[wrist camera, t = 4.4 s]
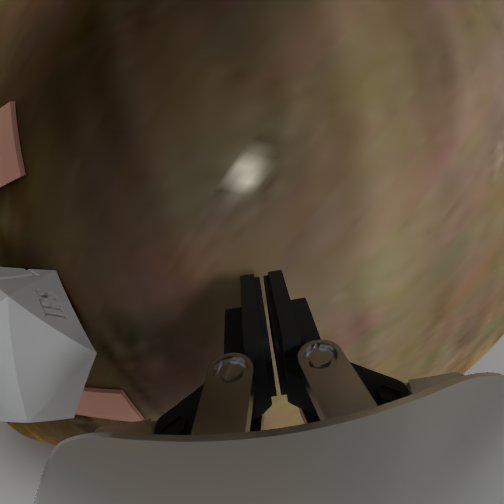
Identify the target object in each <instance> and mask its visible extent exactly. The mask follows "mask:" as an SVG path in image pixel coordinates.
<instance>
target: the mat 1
mask: <svg viewBox="0 0 504 504" xmlns="http://www.w3.org/2000/svg"><path fill="white" fill-rule="evenodd" d="M24 175H26V173H25V169H24V164H23V159H22V153H21V148H20V141H19V135H18V127H17V119H16V108H15V101H10V102H8V103H7V104H6V105H4V106H3V107H1V108H0V187H2V186H4V185H6V184H8V183H10V182H12V181H14V180H16V179H18V178H20V177H22V176H24Z"/></svg>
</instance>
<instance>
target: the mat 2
mask: <svg viewBox="0 0 504 504" xmlns="http://www.w3.org/2000/svg"><path fill="white" fill-rule="evenodd" d="M75 414H77V415H83V416H89V417H95V418H102V419H110V420H119V421H130V422H136V421H142V420H144V418H143V416H142V415H141V414H140V412H139V411H138V410H137V409H136V407H135V406H134V405H133V403H132V402H131V401H130V399H129V398H128V397H127V395H126V394H125V392H124V391H123V390H118V389H102V388H91V387H84V389H83V392H82V395H81V398H80V401H79V404H78V407H77V410H76V413H75Z"/></svg>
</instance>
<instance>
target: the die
mask: <svg viewBox="0 0 504 504" xmlns="http://www.w3.org/2000/svg"><path fill="white" fill-rule="evenodd" d="M96 354H97V353H96V351H95V349H94V348H93V346H92V344H91V342H90V341H89V339H88V337H87V335H86V333H85V331H84V330H83V328H82V326H81V324H80V322H79V320H78V318H77V316H76V314H75V312H74V310H73V308H72V306H71V304H70V301H69V299H68V297H67V295H66V293H65V290H64V288H63V286H62V283H61V281H60V279H59V276H58V274H57V271H56V270H41V269H28V270H25V269H24V268H9V267H0V421H3V422H20V423H32V422H44V421H54V420H62V419H70V418H74V416H75V413H76V410H77V407H78V404H79V401H80V398H81V395H82V392H83V389H84V386H85V383H86V381H87V378H88V375H89V372H90V370H91V367H92V364H93V362H94V359H95V357H96Z"/></svg>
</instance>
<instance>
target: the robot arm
mask: <svg viewBox="0 0 504 504" xmlns="http://www.w3.org/2000/svg"><path fill="white" fill-rule="evenodd" d="M240 280H241V304H242V307H241V308H233V309H226V311H225V338H224V355H221V356H219V357H217V358H216V359H214V361H213V362H212V363H211V364H210V366H209V368H208V372H207V376H206V379H205V383H204V384H203V385H202V386H200V387H199V388H198V389H197V390H195V391H194V392H193V393H191V394H190V395H189V396H188V397H186V398H185V399H184V400H182V401H181V402H180V403H178V404H177V405H176V406H174V407H173V408H172V409H170V410H169V411H168V412H166V413H165V414H164V415H162V416H161V417H160V418H159V419H158V421H152V420H151V419H148V420H142V421H136V422H128V423H121V424H112V425H105V426H101V427H99V428H98V429H96V430H95V432H94V433H87V434H82V435H77V436H73V437H70V438H67V439H65V440H63V441H61V442H60V443H58V444H57V445H56V446H55V448H54V449H53V450H52V452H51V454H50V456H49V458H48V460H47V462H46V464H45V467H44V470H43V472H42V475H41V478H40V482H39V485H38V489H37V493H36V497H35V501H34V504H504V375H502V374H499V373H488V372H487V373H476V374H470V375H466V376H465V375H463V374H461V373H458V372H453V373H447V374H442V375H436V376H431V377H424V378H418V379H411V380H409V381H408V383H403V382H401V381H399V380H397V379H394V378H391V377H388V376H386V375H383V374H380V373H377V372H375V371H372V370H369V369H367V368H364V367H361V366H359V365H356V364H353V363H351V362H349V360H348V359H347V357H346V356H345V354H344V353H343V351H342V350H341V348H340V347H339V346H338V345H337V344H335V343H334V342H332V341H328V340H321V339H320V336H319V333H318V330H317V328H316V325H315V322H314V320H313V317H312V314H311V311H310V309H309V306H308V303H307V301H306V299H305V298H300V299H294V300H290V297H289V294H288V290H287V287H286V284H285V280H284V277H283V274H282V271H281V270H277V271H271V272H268V276H264V284H265V292H266V299H267V307H268V314H269V322H270V329H271V336H272V342H273V348H274V354H275V360H276V366H277V372H278V378H279V384H280V390H281V395H285V394H287V398H288V402H290V403H291V404H293V405H295V406H297V407H299V410H300V414H301V416H302V419H303V421H304V424H302V425H297V426H291V427H284V428H278V429H270V430H263V426H264V412H265V411H266V410H267V409H268V408H269V407H270V406H271V405H272V400H271V397H272V396H277V395H276V387H275V380H274V373H273V365H272V358H271V351H270V344H269V337H268V331H267V324H266V317H265V311H264V304H263V298H262V291H261V285H260V278H259V277H254V274H250V275H243V276H240Z"/></svg>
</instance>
